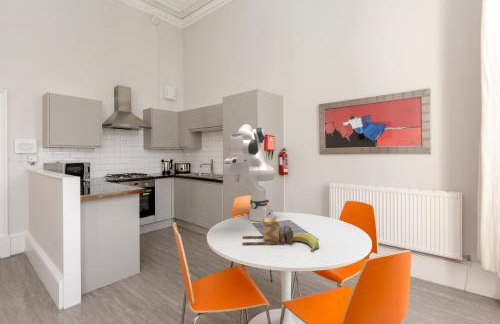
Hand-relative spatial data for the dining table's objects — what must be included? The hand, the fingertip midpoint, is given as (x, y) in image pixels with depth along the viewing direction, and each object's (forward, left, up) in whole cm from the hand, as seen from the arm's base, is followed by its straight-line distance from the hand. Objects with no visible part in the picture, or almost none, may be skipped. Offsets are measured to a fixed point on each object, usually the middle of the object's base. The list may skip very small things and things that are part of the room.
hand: (237, 182), depth 165 cm
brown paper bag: (+2, +27, -31) cm, 41 cm away
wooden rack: (+4, +26, -31) cm, 41 cm away
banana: (-3, +45, -32) cm, 55 cm away
